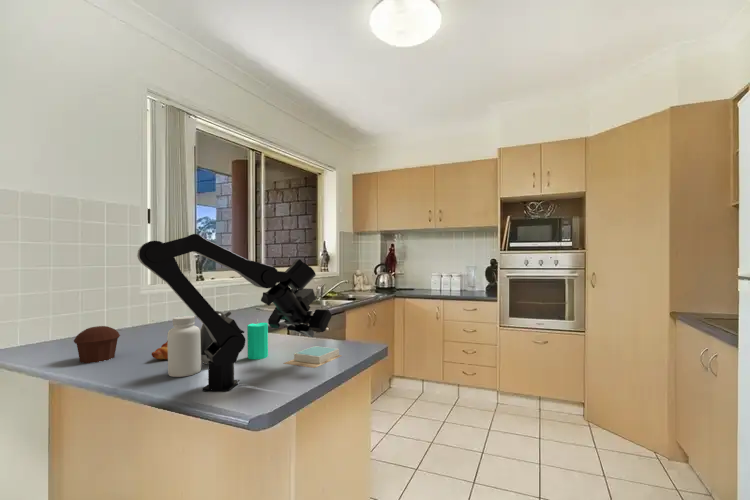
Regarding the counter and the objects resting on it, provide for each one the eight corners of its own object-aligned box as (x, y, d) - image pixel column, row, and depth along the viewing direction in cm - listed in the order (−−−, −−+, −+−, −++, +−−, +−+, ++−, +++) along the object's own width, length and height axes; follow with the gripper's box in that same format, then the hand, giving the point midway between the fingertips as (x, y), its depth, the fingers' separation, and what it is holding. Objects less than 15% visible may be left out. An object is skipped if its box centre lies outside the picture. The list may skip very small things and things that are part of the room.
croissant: (204, 356, 133) (196, 335, 134) (223, 344, 129) (215, 323, 131) (146, 372, 113) (138, 347, 115) (167, 359, 110) (159, 333, 112)
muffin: (73, 366, 110) (73, 332, 110) (73, 359, 118) (73, 327, 118) (122, 359, 117) (122, 327, 117) (118, 352, 126) (118, 322, 126)
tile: (319, 356, 106) (338, 348, 114) (294, 353, 110) (314, 345, 119) (319, 364, 106) (338, 355, 114) (294, 360, 110) (314, 352, 119)
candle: (271, 356, 117) (270, 317, 118) (263, 361, 111) (263, 320, 112) (252, 356, 118) (252, 317, 118) (244, 361, 112) (243, 320, 112)
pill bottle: (170, 370, 104) (169, 316, 104) (202, 367, 106) (201, 314, 107) (165, 379, 96) (164, 320, 96) (199, 375, 99) (199, 318, 99)
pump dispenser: (242, 360, 113) (241, 309, 113) (211, 369, 104) (211, 314, 104) (220, 356, 118) (219, 307, 119) (189, 364, 109) (189, 312, 110)
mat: (314, 370, 102) (314, 367, 102) (283, 365, 107) (283, 363, 107) (342, 357, 114) (342, 355, 114) (312, 353, 119) (312, 351, 119)
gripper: (327, 279, 102) (349, 315, 111) (274, 279, 110) (298, 311, 120) (310, 313, 94) (335, 347, 104) (254, 309, 103) (282, 342, 113)
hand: (312, 335), depth 110 cm, fingers closed
